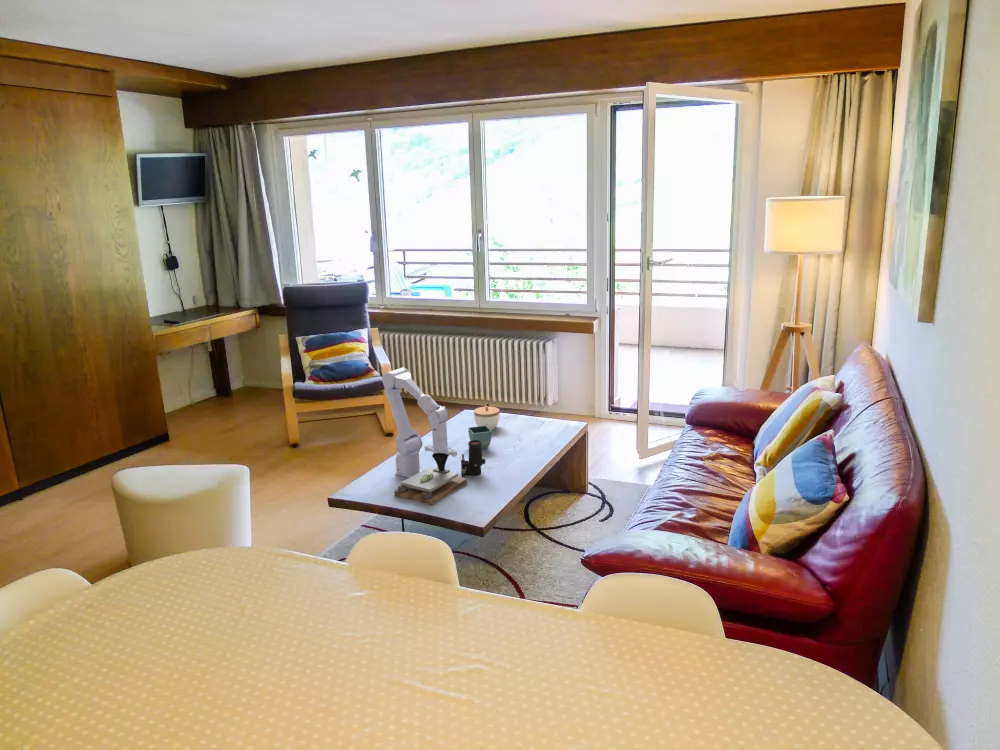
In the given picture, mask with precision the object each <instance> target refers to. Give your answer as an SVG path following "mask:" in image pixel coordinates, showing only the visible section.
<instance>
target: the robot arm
mask: <svg viewBox="0 0 1000 750" xmlns="http://www.w3.org/2000/svg"><path fill="white" fill-rule="evenodd" d="M381 381H382V384H383V387H384V391H385V396H386V397H387V401H388V404H389V407H390V410H391V413H392V416H393V419H394V421H395V425H396V428H397V431H398V434H397V436H396V437H395V443H396V451H397V454H396V456H395V467H396V468H395V469H396V472H395V475H397V476H402V477H405V478H410V477H412V476H414V475H416V474H417V473H419V472H421V471H423V470H424V469H421V466H420V465H421V464H420V452H421V448H423V441H422V438H421V437H420V435H419V433H418V431H417V430H416V429H413V428H412V427H411V423H410V420H409V417H408V414H407V411H406V407H405V405H404V401H403V399H402V395H401V391H402V389H405V390H406V391H407V392H408V393H409V394H410V395H411V396H413V397H414V398H415V400H417V405H418V406H419V408H421V410H422V411H423V412H424V413H425V414H426V415H427V419H428V421H429V423H430V427H431V435H432V445H431V444H426V445H424V451H425V452H432V455H431V457H432V458H433V459H434V462H435V463H436V465H437V467H438V469H439V471H443V470H444V469H446V465H447V464H446V463H447V460H448V457H449V456H452V457H455V458H456V456H458V450H456V449H453V448H450V447H449V445H448V444H449V443H448V430H447V429H448V428H447V426H448V425H447V421H448V420H449V418H450V413H449V410H448V408H447V407H446V406H443V405H442V406H441V405H440V404H438V403H437V402H436V401H435V399H434V398H432V396H431V395H429V394H428V393H427V394H424V392H423V391H422V389H420V387H419V386H418V385H417V384H416V382H415V381H414V380H413V378H412V374H411V372H410V371H409V370H408V369H407V368H406V367H400V368H397V369H394V370H391V371H387V372H384V374H383V375H382V378H381Z"/></svg>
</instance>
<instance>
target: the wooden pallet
mask: <svg viewBox="0 0 1000 750" xmlns="http://www.w3.org/2000/svg"><path fill="white" fill-rule="evenodd" d="M467 484H468V478H465V477H462V476H458V477H456V478H454V479H452V480H451V481H449V482H447V483H446V484H444V485H442V486H440V487H439V488H437V489H435V490H434V491H432V492H426V491H422V490H418V489H415V488H411V487H407V486H403V485H401V484H399V485H397V489H395V490H394V491H393V492H394V496H395V497H399V498H403V499H406V500H409V501H412V502H413V501H414V502H417V503H422V504H425V505H429V506H433V505H435V504H437V503H438V502H440V501H441V500H444V498H447V496H450V495H451V494H452V493H454V492H455V491H457V490H459V489H460V488H463V486H465V485H467Z"/></svg>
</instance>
